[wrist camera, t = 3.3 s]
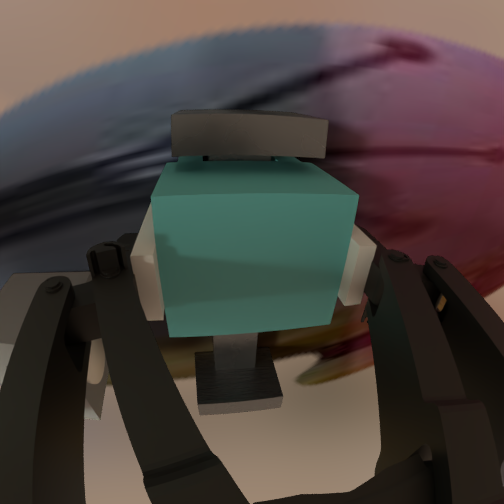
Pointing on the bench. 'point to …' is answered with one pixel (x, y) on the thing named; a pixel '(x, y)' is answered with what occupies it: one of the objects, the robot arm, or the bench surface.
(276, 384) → the rail
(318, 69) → the bench surface
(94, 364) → the grey cube housing
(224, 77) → the bench surface
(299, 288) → the block
